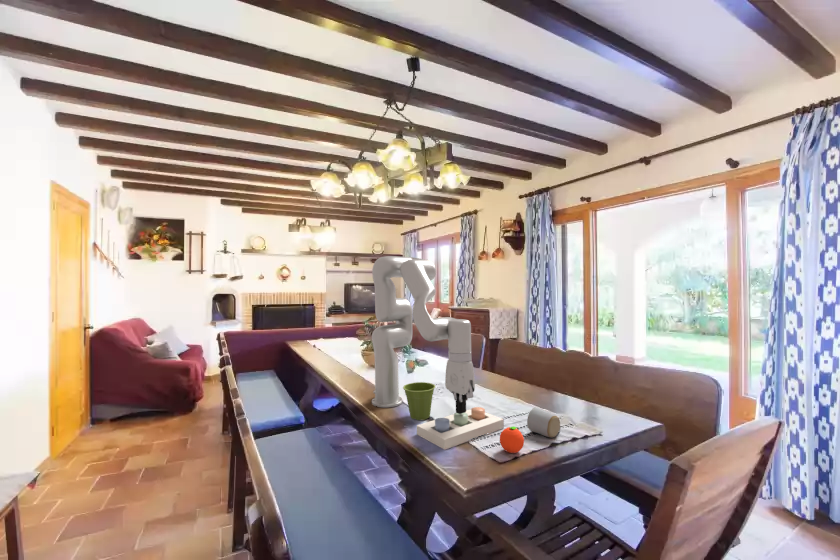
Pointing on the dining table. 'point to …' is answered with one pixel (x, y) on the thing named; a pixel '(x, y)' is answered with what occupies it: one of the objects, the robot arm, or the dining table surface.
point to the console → (459, 430)
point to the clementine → (511, 439)
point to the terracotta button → (478, 413)
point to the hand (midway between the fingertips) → (461, 412)
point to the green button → (461, 419)
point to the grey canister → (543, 422)
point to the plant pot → (419, 399)
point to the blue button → (442, 425)
